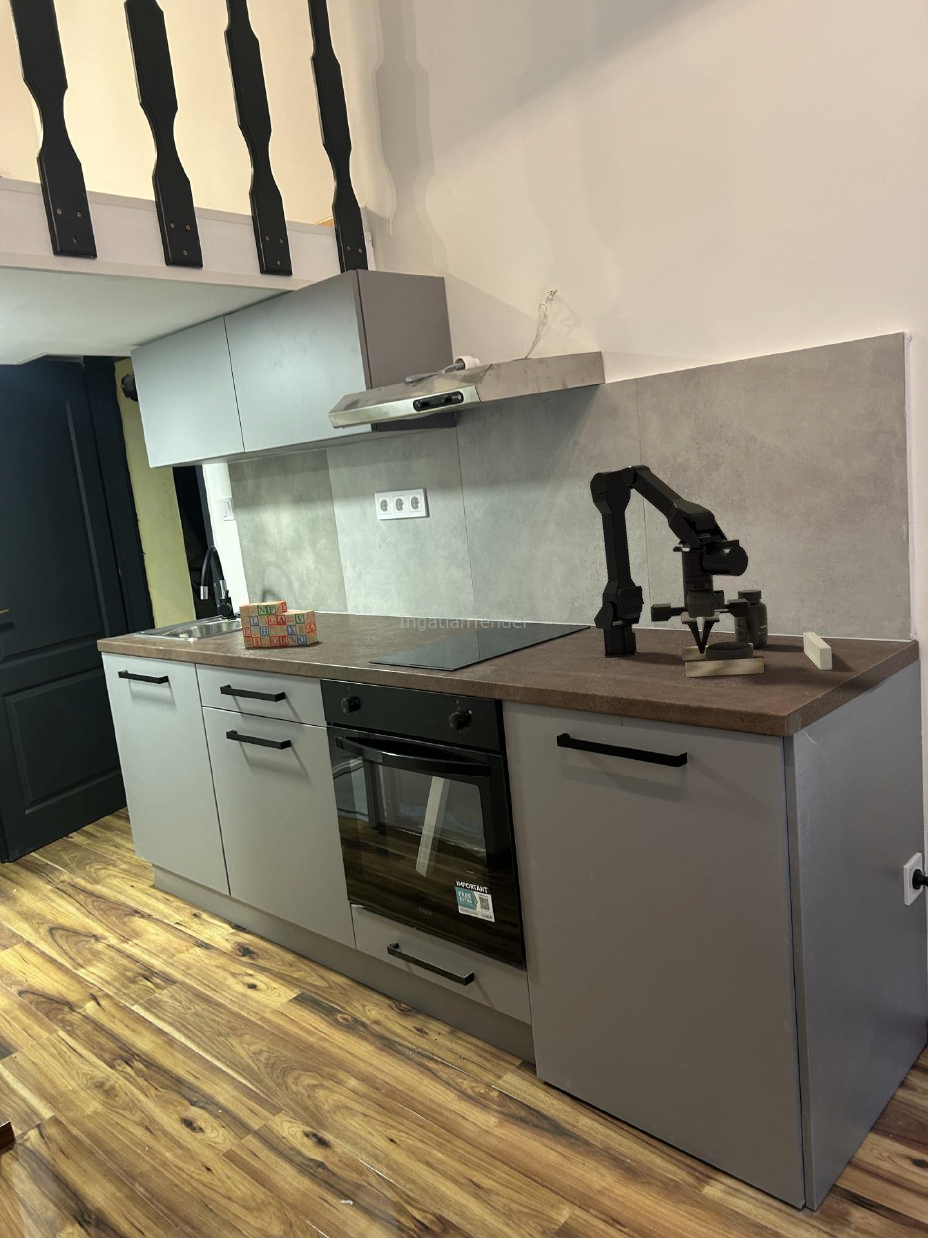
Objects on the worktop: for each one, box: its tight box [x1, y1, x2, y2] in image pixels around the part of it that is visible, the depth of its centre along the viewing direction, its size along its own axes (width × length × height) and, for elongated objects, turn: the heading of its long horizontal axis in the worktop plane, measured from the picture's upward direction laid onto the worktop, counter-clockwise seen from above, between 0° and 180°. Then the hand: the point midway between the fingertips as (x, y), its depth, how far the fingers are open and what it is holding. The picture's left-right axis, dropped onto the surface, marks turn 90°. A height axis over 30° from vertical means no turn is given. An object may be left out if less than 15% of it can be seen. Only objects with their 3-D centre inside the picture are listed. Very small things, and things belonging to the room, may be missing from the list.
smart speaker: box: [705, 641, 754, 661], centre depth 177 cm, size 9×9×4 cm
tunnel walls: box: [681, 643, 765, 678], centre depth 178 cm, size 14×17×2 cm
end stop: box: [802, 631, 833, 671], centre depth 174 cm, size 2×17×4 cm, turn 169°
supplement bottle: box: [733, 589, 769, 650], centre depth 193 cm, size 7×7×12 cm
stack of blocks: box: [238, 600, 319, 648], centre depth 261 cm, size 21×6×12 cm, turn 69°
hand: (701, 653), depth 178 cm, fingers closed
